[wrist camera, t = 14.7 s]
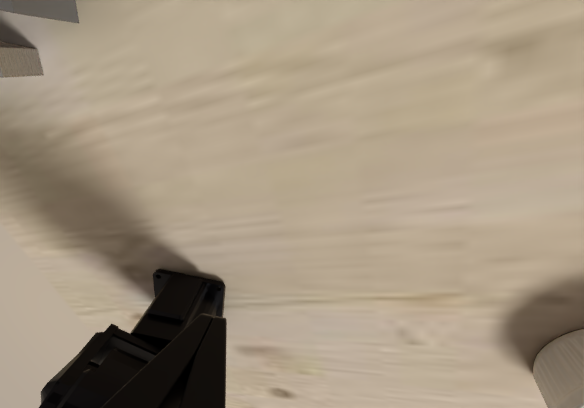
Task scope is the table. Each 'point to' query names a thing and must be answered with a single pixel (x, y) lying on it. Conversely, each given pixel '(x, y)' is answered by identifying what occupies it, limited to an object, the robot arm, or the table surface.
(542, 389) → the ramekin
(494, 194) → the table surface
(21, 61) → the rail
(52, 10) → the block
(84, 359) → the robot arm
